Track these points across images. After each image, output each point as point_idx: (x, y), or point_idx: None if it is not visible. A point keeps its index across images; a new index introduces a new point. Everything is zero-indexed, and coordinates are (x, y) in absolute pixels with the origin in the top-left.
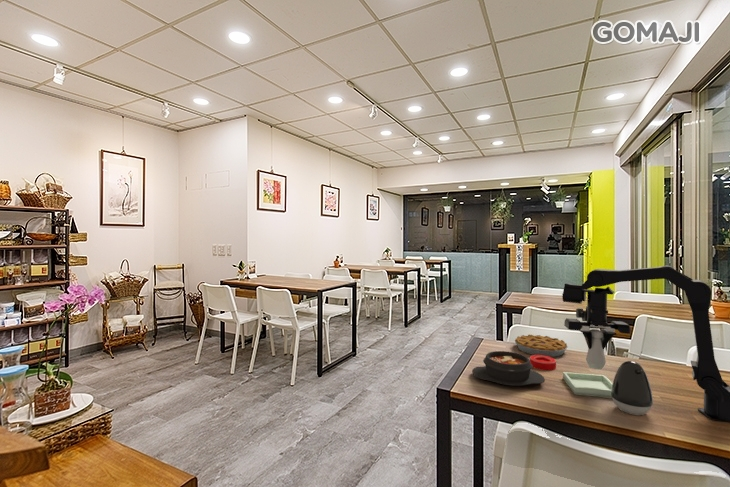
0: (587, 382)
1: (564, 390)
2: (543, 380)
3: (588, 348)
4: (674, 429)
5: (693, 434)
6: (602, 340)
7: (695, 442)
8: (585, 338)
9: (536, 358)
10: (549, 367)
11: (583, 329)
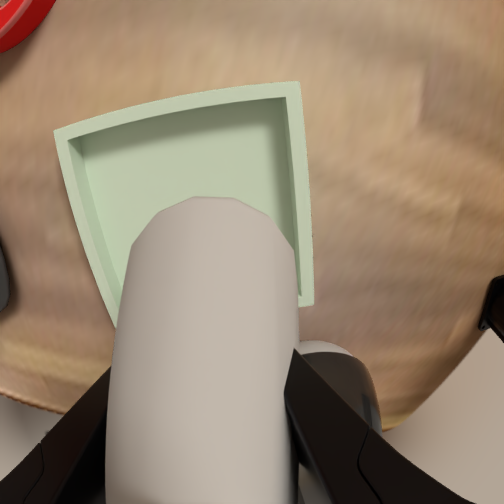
0: (182, 169)
1: (84, 282)
2: (4, 283)
3: (118, 326)
4: None
5: (385, 408)
6: (308, 490)
7: None
8: (42, 470)
9: None
10: (18, 35)
11: None
